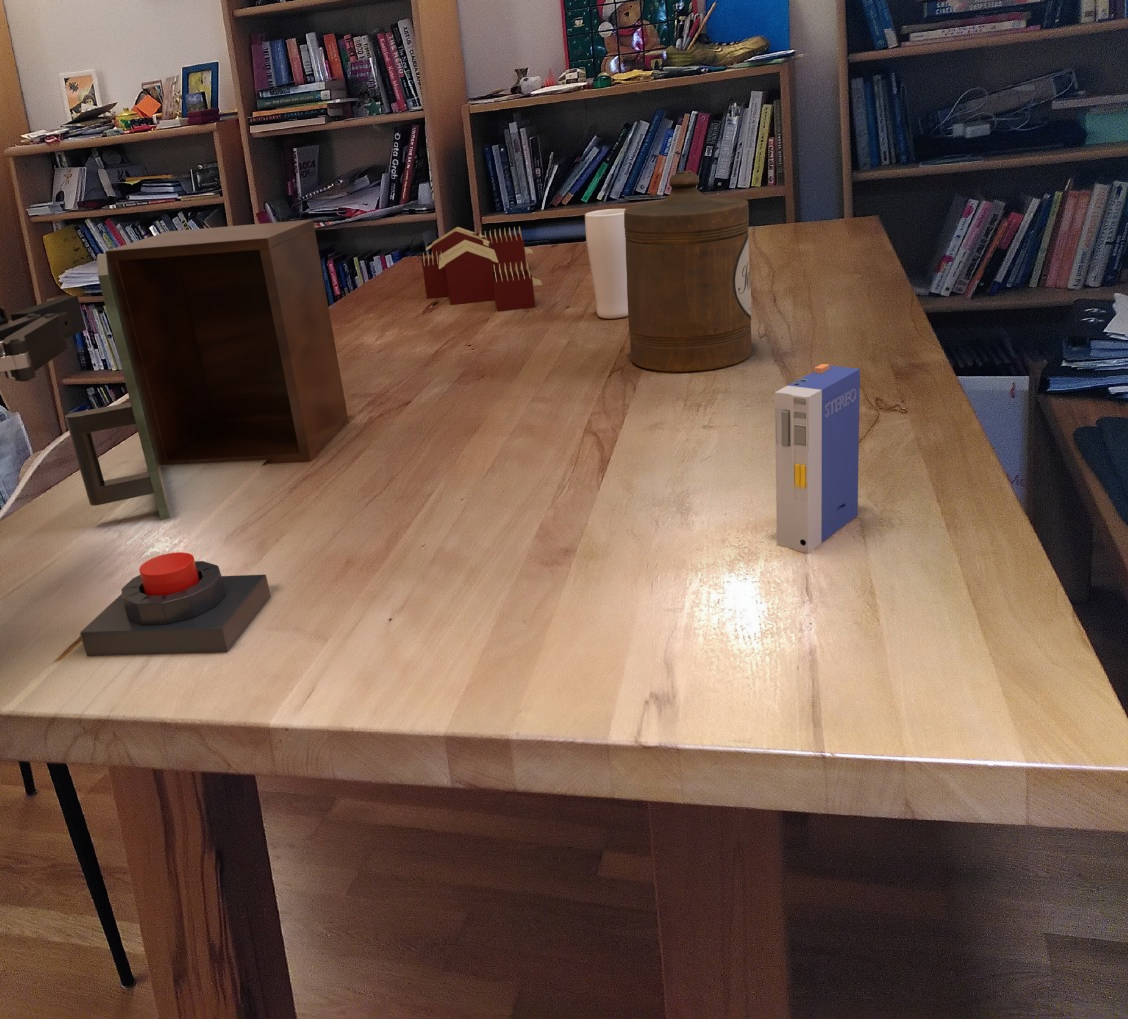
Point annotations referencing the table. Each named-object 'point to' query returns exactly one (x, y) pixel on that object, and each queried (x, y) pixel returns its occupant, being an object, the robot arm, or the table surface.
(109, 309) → the cupboard door
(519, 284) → the toy houses
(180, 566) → the red button
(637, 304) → the wooden container
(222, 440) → the cupboard
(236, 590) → the button block
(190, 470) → the table surface
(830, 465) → the walkman
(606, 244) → the drinking glass
